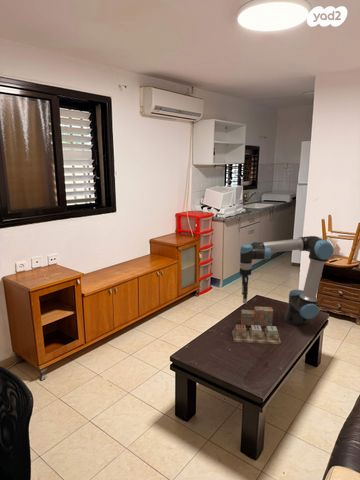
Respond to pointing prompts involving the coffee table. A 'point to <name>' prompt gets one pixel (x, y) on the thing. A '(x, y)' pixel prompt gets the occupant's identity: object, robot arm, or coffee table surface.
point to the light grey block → (271, 330)
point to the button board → (255, 337)
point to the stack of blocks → (257, 316)
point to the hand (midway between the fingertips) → (244, 298)
